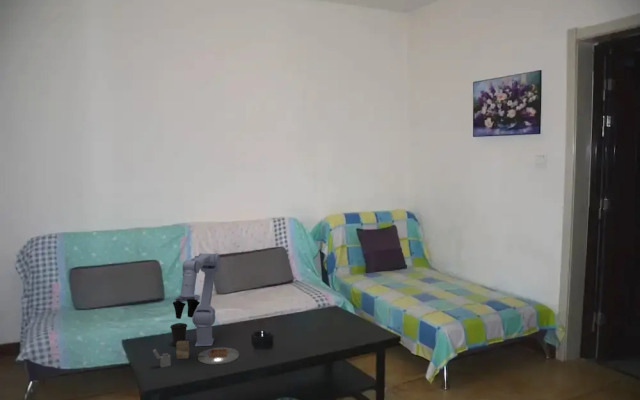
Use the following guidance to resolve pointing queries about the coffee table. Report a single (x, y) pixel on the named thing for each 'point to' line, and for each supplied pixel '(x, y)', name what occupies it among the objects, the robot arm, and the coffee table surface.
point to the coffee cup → (178, 332)
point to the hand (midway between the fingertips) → (184, 317)
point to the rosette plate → (218, 356)
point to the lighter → (163, 359)
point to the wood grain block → (182, 349)
